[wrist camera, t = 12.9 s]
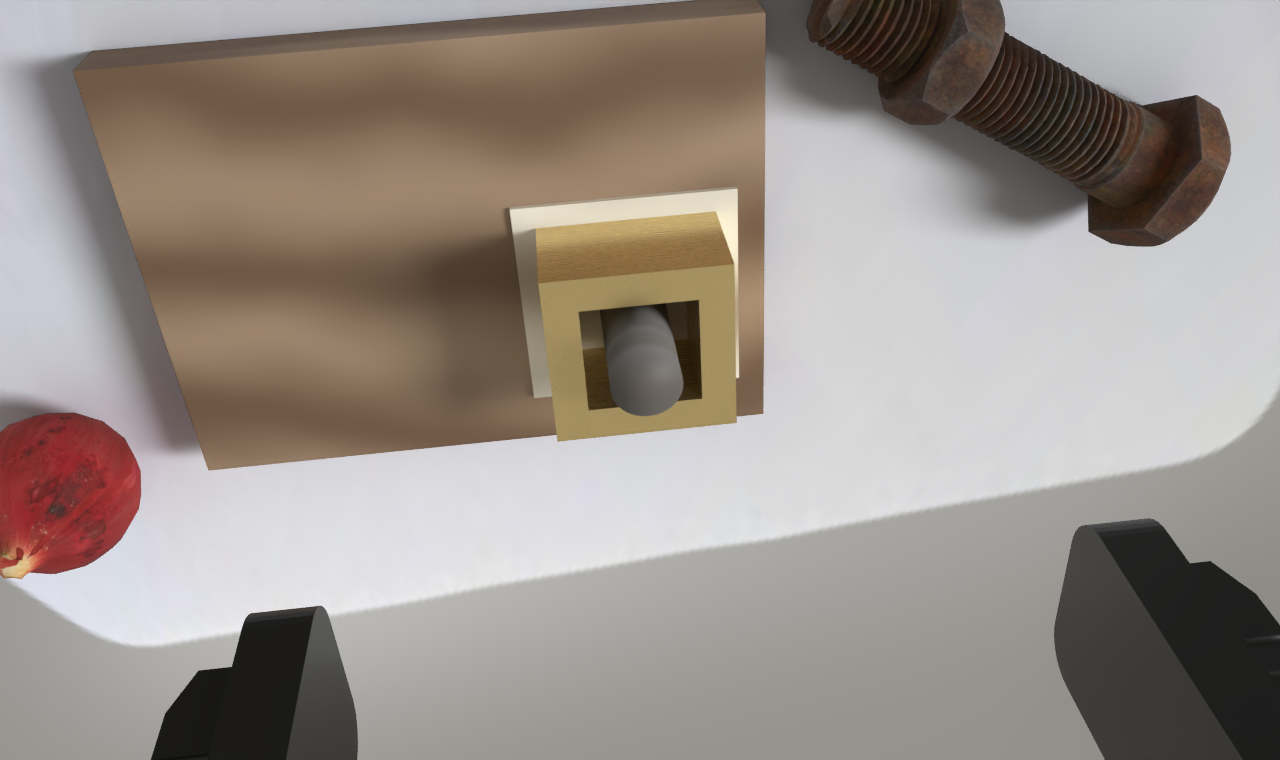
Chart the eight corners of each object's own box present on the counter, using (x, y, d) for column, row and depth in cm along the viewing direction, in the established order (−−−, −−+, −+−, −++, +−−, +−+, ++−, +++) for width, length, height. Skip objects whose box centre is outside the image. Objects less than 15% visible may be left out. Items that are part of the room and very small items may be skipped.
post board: (92, 51, 38) (3, 144, 31) (754, -5, 39) (805, 73, 32) (219, 440, 47) (171, 576, 40) (754, 386, 48) (794, 510, 41)
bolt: (817, -57, 40) (1140, 128, 44) (763, 77, 40) (1093, 248, 44) (901, -109, 34) (1261, 108, 39) (839, 46, 34) (1207, 245, 39)
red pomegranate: (71, 345, 44) (-6, 476, 37) (193, 436, 46) (141, 573, 40) (-25, 428, 45) (-116, 568, 38) (98, 511, 48) (33, 654, 41)
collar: (535, 228, 40) (538, 283, 37) (715, 211, 41) (734, 264, 37) (553, 378, 44) (557, 441, 40) (719, 362, 44) (736, 422, 41)
